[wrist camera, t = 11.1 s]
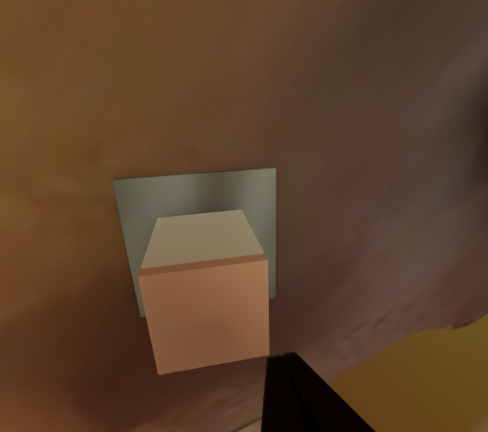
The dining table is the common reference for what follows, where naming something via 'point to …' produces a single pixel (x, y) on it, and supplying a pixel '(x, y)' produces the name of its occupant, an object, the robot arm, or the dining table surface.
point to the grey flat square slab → (196, 208)
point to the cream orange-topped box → (205, 291)
